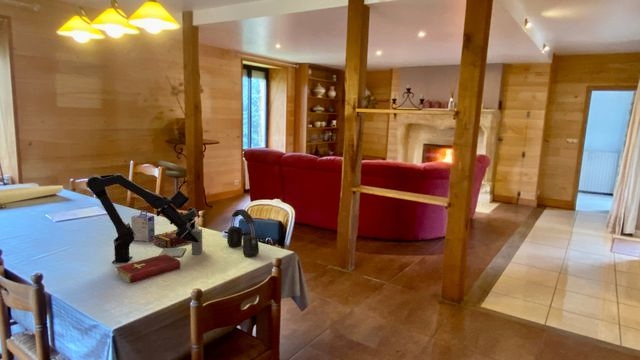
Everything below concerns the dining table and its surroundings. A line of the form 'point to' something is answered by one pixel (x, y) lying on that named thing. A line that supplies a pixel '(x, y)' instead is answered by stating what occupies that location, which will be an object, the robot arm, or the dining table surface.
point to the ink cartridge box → (143, 226)
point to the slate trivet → (173, 252)
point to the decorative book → (168, 239)
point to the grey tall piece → (198, 246)
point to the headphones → (249, 240)
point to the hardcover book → (148, 268)
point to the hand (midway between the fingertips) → (199, 238)
